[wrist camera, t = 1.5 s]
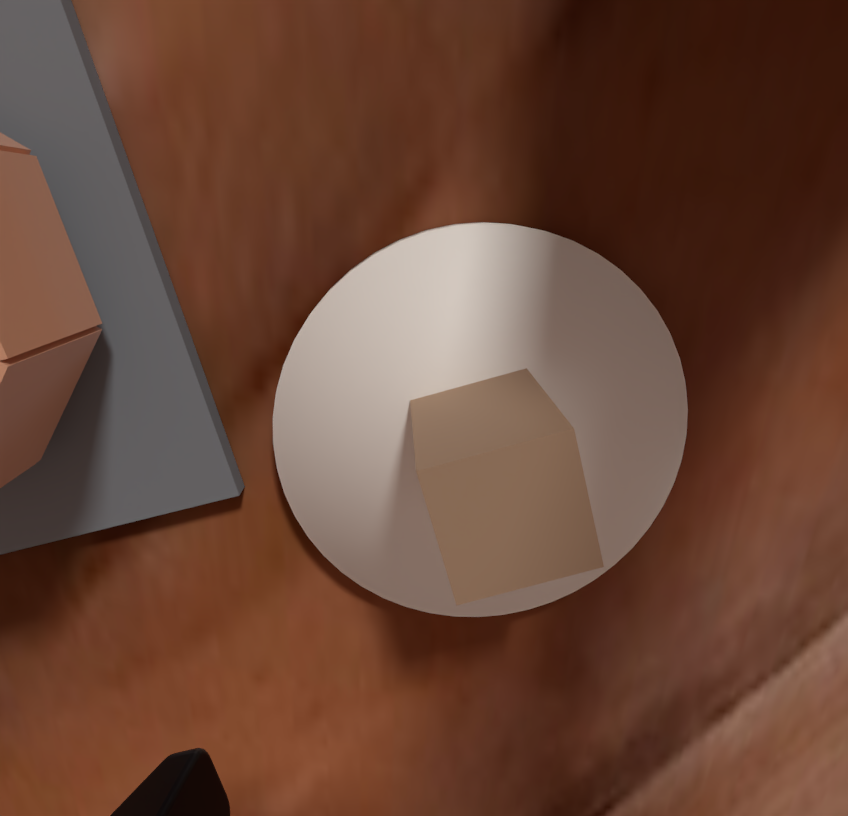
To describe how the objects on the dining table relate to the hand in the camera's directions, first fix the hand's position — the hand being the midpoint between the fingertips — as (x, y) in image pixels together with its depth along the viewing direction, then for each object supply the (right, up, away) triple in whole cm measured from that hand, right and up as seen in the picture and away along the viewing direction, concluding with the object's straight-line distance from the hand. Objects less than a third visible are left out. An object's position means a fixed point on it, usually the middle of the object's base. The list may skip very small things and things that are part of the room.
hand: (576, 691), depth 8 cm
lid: (0, +3, +10) cm, 10 cm away
